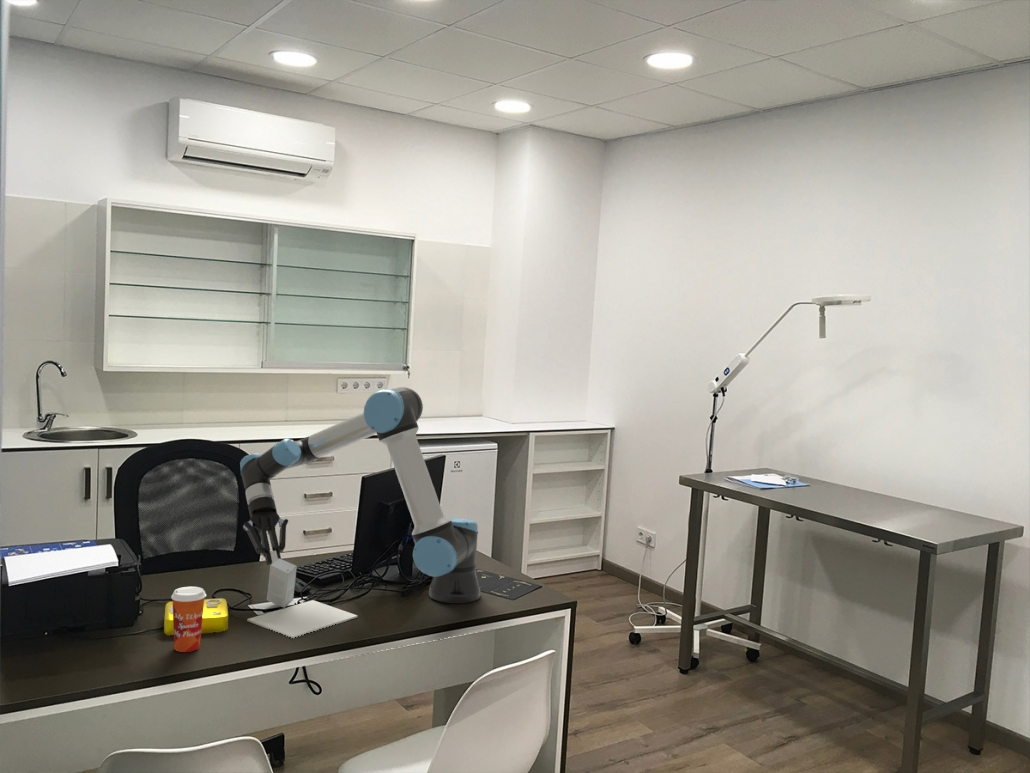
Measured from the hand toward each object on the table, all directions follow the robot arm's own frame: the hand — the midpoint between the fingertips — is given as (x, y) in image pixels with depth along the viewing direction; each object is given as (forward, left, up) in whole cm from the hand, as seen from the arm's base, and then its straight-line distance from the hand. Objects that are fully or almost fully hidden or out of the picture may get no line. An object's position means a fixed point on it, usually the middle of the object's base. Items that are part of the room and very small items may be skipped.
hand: (276, 573), depth 236 cm
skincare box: (-2, 0, -7) cm, 8 cm away
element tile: (+1, +24, -9) cm, 26 cm away
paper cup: (-12, +35, -9) cm, 38 cm away
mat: (-15, +3, -8) cm, 18 cm away
